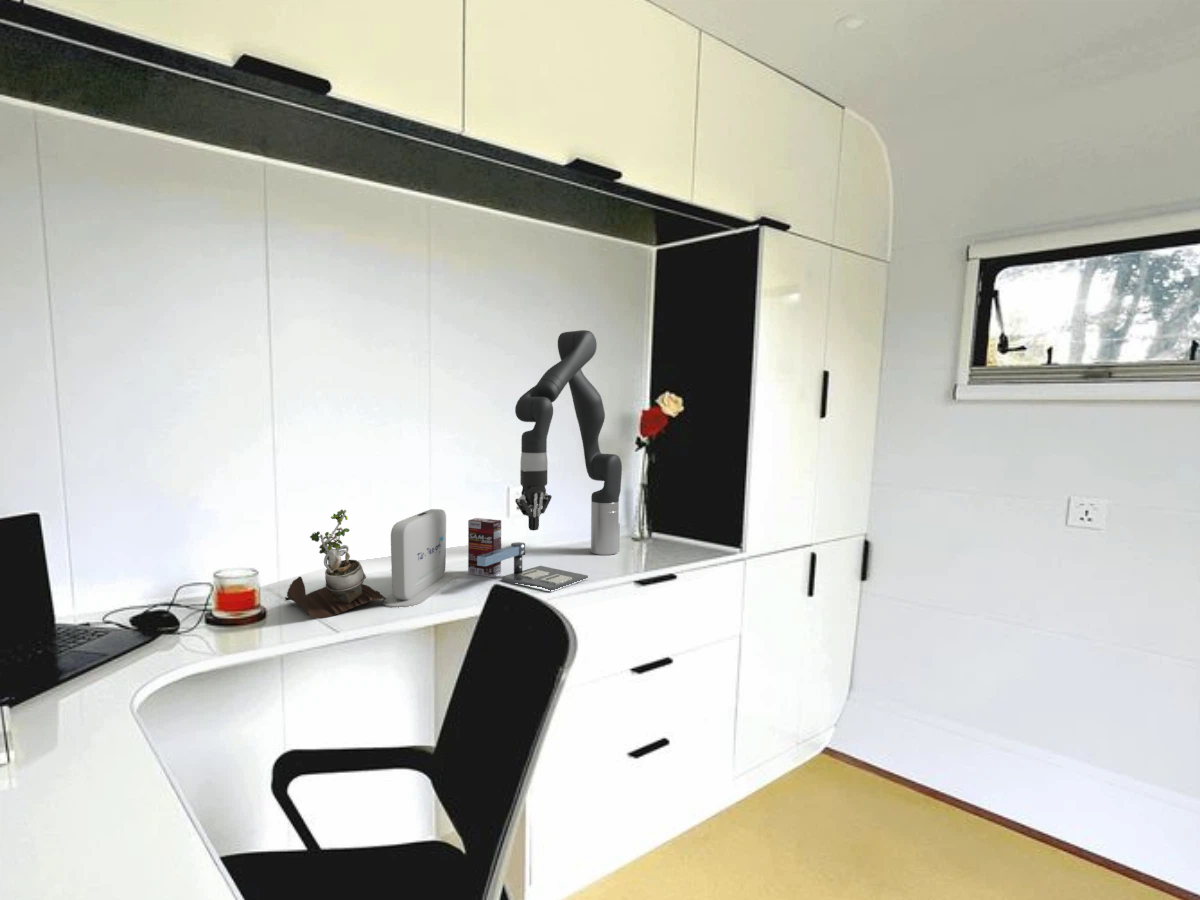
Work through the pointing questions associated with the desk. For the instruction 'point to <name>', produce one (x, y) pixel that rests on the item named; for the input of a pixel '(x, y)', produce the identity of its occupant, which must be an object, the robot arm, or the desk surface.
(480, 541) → the supplement box
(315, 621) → the desk surface
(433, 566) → the wireless router
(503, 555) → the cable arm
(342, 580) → the potted plant
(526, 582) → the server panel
